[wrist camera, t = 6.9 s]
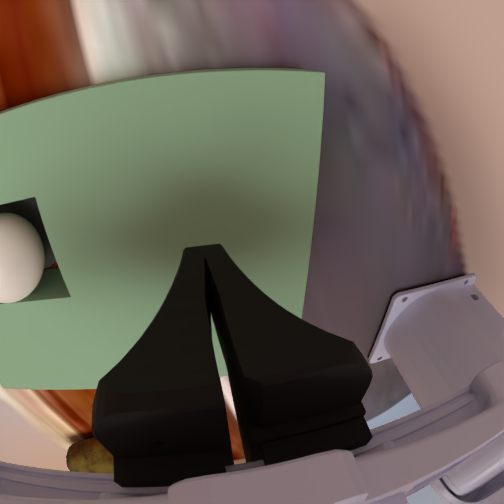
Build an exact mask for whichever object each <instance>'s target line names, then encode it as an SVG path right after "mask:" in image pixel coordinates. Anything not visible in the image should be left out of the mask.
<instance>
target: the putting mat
mask: <svg viewBox="0 0 504 504" xmlns="http://www.w3.org/2000/svg"><path fill="white" fill-rule="evenodd" d="M324 86H325V73H323V72H317V71H311V70H305V69H294V68H224V69H206V70H192V71H181V72H171V73H163V74H155V75H147V76H140V77H134V78H128V79H122V80H116V81H111V82H105V83H100V84H96V85H91V86H86V87H82V88H78V89H74V90H69V91H65V92H62V93H58V94H54V95H50V96H47V97H43V98H40V99H37V100H33V101H30V102H27V103H24V104H21V105H18V106H15V107H12V108H9V109H6V110H3V111H1V112H0V213H13V214H17V215H19V216H21V217H23V218H25V219H26V220H28V221H29V222H30V223H31V224H32V225H33V226H34V228H35V229H36V230H37V232H38V233H39V235H40V237H41V240H42V243H43V246H44V253H45V264H44V269H45V268H48V267H50V266H51V265H53V264H54V263H55V262H56V261H57V264H58V266H59V268H52V269H45V270H43V274H42V277H41V279H40V281H39V283H38V285H37V286H36V288H35V289H34V290H33V291H32V292H31V293H30V294H29V295H28V296H27V297H25V298H24V299H22V300H20V301H17V302H13V303H0V384H1V385H2V386H3V387H4V388H10V389H45V390H63V389H97V386H98V382H99V380H100V379H101V378H102V377H103V376H105V375H106V374H107V373H108V372H109V371H110V370H111V369H112V368H113V367H114V366H115V365H116V364H117V363H118V362H119V361H120V360H121V359H122V358H123V357H124V356H125V355H126V354H127V353H128V351H129V350H130V349H131V348H132V347H133V346H134V344H135V343H136V342H137V341H138V340H139V338H140V337H141V336H142V335H143V333H144V332H145V330H146V329H147V327H148V326H149V325H150V323H151V322H152V320H153V319H154V317H155V316H156V314H157V312H158V311H159V309H160V307H161V305H162V304H163V302H164V300H165V298H166V296H167V294H168V292H169V290H170V288H171V286H172V283H173V281H174V278H175V276H176V273H177V271H178V268H179V265H180V262H181V258H182V254H183V250H184V249H185V248H186V247H194V246H202V245H211V244H219V243H220V244H221V245H222V246H223V247H224V249H225V250H226V252H227V253H228V255H229V256H230V257H231V259H232V260H233V261H234V262H235V264H236V265H237V266H238V267H239V268H240V269H241V271H242V272H243V273H244V274H245V275H246V276H247V277H248V278H249V279H250V280H251V281H252V282H253V283H254V284H255V285H256V286H257V287H258V288H259V289H260V290H261V291H263V292H264V293H265V294H266V295H267V296H268V297H270V298H271V299H272V300H274V301H275V302H276V303H277V304H279V305H280V306H282V307H283V308H284V309H286V310H287V311H289V312H291V313H292V314H294V315H296V316H297V317H299V318H302V311H303V304H304V297H305V290H306V282H307V275H308V267H309V259H310V251H311V242H312V234H313V225H314V215H315V206H316V195H317V185H318V174H319V162H320V149H321V136H322V121H323V105H324ZM211 325H212V342H213V348H214V353H215V358H216V363H217V367H218V372H219V377H221V376H227V375H228V372H227V368H226V364H225V360H224V357H223V354H222V350H221V347H220V343H219V340H218V337H217V333H216V330H215V326H214V323H213V319H212V315H211Z"/></svg>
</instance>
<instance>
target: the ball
mask: <svg viewBox="0 0 504 504" xmlns="http://www.w3.org/2000/svg"><path fill="white" fill-rule="evenodd" d="M44 264H45V253H44V246H43V243H42V240H41V237H40V235H39V233H38V232H37V230H36V229H35V228H34V226H33V225H32V224H31V223H30V222H29V221H28V220H26V219H25V218H23V217H21V216H19V215H17V214H13V213H0V303H13V302H17V301H20V300H22V299H24V298H25V297H27V296H28V295H29V294H30V293H31V292H32V291H33V290H34V289H35V288H36V286H37V285H38V283H39V281H40V279H41V277H42V274H43V270H44Z"/></svg>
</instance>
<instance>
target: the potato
mask: <svg viewBox="0 0 504 504" xmlns="http://www.w3.org/2000/svg"><path fill="white" fill-rule="evenodd" d="M66 458H67V467H68V468H69V470H70V471H71V472H84V473H108V474H114V468H113V455H112V454H111V453H110V452H109V451H108V450H107V449H106V448H105V447H104V446H103V445H102V444H101V443H100V442H99V441H98V440H97V439H96V438H89V439H85V440H82V441H78V442H76V443H74V444H72V445H71V446H70V447H69V449H68V452H67V456H66Z"/></svg>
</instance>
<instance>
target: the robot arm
mask: <svg viewBox="0 0 504 504" xmlns="http://www.w3.org/2000/svg"><path fill="white" fill-rule="evenodd" d="M475 280H476V275H475V274H474V273H472V274H468V275H465V276H461V277H458V278H454V279H450V280H446V281H443V282H439V283H435V284H431V285H427V286H423V287H419V288H415V289H411V290H407V291H403V292H399V293H396V294H395V295H394V296H393V297H392V300H391V302H390V305H389V308H388V311H387V313H386V316H385V319H384V321H383V324H382V327H381V329H380V332H379V334H378V337H377V339H376V342H375V344H374V347H373V349H372V351H371V354H370V356H369V358H368V360H369V362H370V363H376V362H379V361H382V360H385V359H388V358H391V359H392V360H393V362H394V364H395V365H396V367H397V369H398V370H399V372H400V374H401V375H402V377H403V379H404V381H405V382H406V384H407V386H408V387H409V389H410V391H411V393H412V394H413V396H414V398H415V399H416V401H417V403H418V405H419V407H420V408H421V410H418V411H416V412H414V413H412V414H409V415H407V416H405V417H402V418H400V419H398V420H395V421H392V422H390V423H388V424H385V425H382V426H379V427H377V428H374V429H371V430H370V429H369V427H368V425H367V423H366V421H365V419H364V416H363V415H365V413H366V411H365V408H364V406H363V404H362V402H361V400H362V399H363V397H364V395H365V393H366V391H367V389H368V387H369V385H370V383H371V380H372V377H373V376H372V370H371V368H370V367H369V365H368V363H367V361H366V359H365V358H364V356H363V355H362V353H361V352H360V351H359V349H358V348H357V347H356V345H355V344H354V342H352V341H349V340H347V339H344V338H342V337H339V336H336V335H334V334H331V333H329V332H326V331H324V330H322V329H320V328H318V327H316V326H314V325H312V324H310V323H308V322H306V321H304V320H302V319H301V318H299V317H297V316H296V315H294V314H292V313H291V312H289V311H287V310H286V309H284V308H283V307H282V306H280V305H279V304H277V303H276V302H275V301H274V300H272V299H271V298H270V297H268V296H267V295H266V294H265V293H264V292H263V291H261V290H260V289H259V288H258V287H257V286H256V285H255V284H254V283H253V282H252V281H251V280H250V279H249V278H248V277H247V276H246V275H245V274H244V273H243V272H242V271H241V269H240V268H239V267H238V266H237V265H236V264H235V262H234V261H233V260H232V259H231V257H230V256H229V255H228V253H227V252H226V250H225V249H224V247H223V246H222V245H221V244H220V243H219V244H211V245H202V246H194V247H186V248H185V249H184V250H183V254H182V258H181V262H180V265H179V268H178V271H177V273H176V276H175V278H174V281H173V283H172V286H171V288H170V290H169V292H168V294H167V296H166V298H165V300H164V302H163V304H162V305H161V307H160V309H159V311H158V312H157V314H156V316H155V317H154V319H153V320H152V322H151V323H150V325H149V326H148V327H147V329H146V330H145V332H144V333H143V335H142V336H141V337H140V338H139V340H138V341H137V342H136V343H135V344H134V346H133V347H132V348H131V349H130V350H129V351H128V353H127V354H126V355H125V356H124V357H123V358H122V359H121V360H120V361H119V362H118V363H117V364H116V365H115V366H114V367H113V368H112V369H111V370H110V371H109V372H108V373H107V374H106V375H105V376H103V377H102V378H101V379H100V380H99V382H98V386H97V389H96V393H95V398H94V402H93V410H92V433H93V435H94V436H95V438H96V439H97V440H98V441H99V442H100V443H101V444H102V445H103V446H104V447H105V448H106V449H107V450H108V451H109V452H110V453H111V454H112V455H113V468H114V474H108V473H84V472H71V471H59V470H51V469H42V468H35V467H28V466H22V465H16V464H11V463H6V462H1V461H0V504H408V502H407V500H406V497H407V496H409V495H411V494H413V493H415V492H417V491H418V490H420V489H422V488H424V487H426V486H428V485H429V484H430V485H431V486H432V488H433V489H434V491H435V492H436V493H437V494H438V495H439V496H441V497H442V498H444V499H445V500H446V501H447V502H449V504H504V318H503V317H502V316H501V315H500V314H499V313H498V311H497V310H496V309H495V308H494V307H493V305H491V303H490V302H489V301H488V300H487V299H486V298H485V297H484V296H483V294H482V293H481V292H480V291H479V290H478V289H477V288H476V287H475V286H474V282H475ZM211 315H212V319H213V323H214V326H215V330H216V333H217V337H218V340H219V343H220V347H221V350H222V354H223V357H224V360H225V364H226V368H227V372H228V377H229V382H230V387H231V392H232V397H233V402H234V407H235V412H236V417H237V421H238V426H239V431H240V436H241V441H242V445H243V450H244V455H245V459H246V463H243V464H237V465H234V461H233V455H232V449H231V448H232V447H231V441H230V434H229V428H228V421H227V414H226V407H225V401H224V396H223V391H222V386H221V381H220V377H219V372H218V367H217V363H216V358H215V353H214V348H213V342H212V325H211Z"/></svg>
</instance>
